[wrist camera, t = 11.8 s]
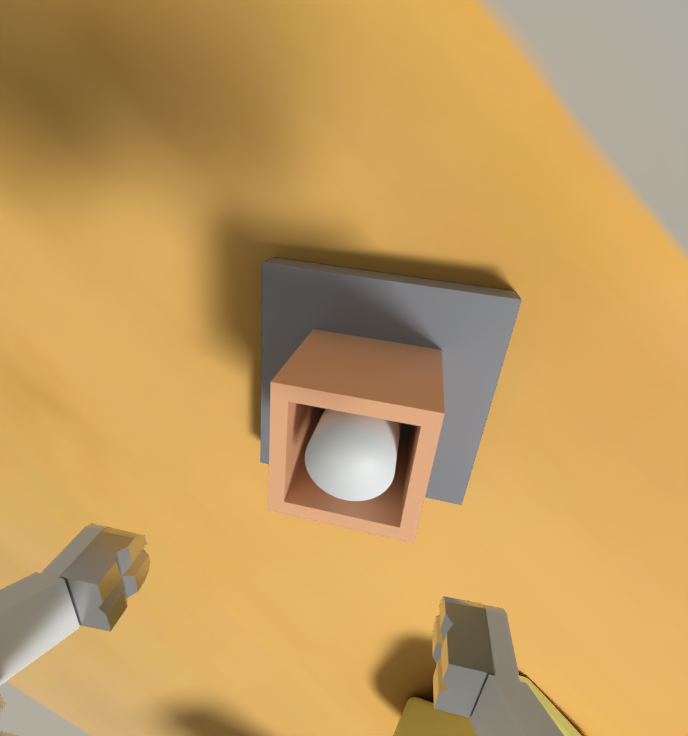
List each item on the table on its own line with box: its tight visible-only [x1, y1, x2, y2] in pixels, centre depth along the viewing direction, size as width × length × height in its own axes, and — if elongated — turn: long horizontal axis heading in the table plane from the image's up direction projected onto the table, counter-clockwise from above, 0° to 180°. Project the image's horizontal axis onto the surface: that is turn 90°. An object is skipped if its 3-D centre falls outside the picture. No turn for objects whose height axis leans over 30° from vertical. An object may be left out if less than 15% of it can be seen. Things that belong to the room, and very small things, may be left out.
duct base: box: [260, 257, 521, 505], centre depth 20 cm, size 12×12×8 cm
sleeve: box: [268, 329, 445, 543], centre depth 19 cm, size 6×6×6 cm
